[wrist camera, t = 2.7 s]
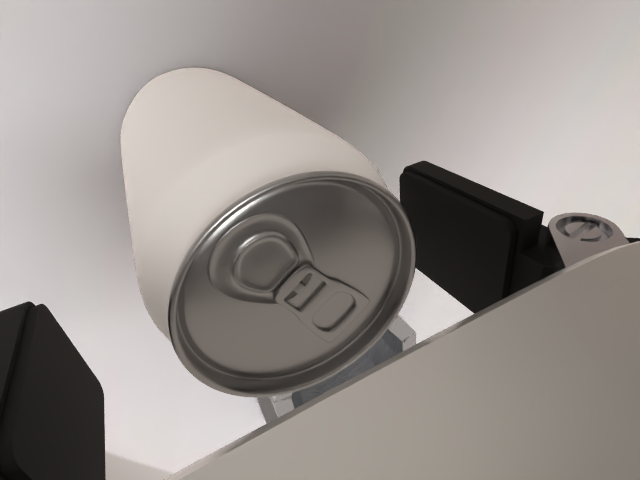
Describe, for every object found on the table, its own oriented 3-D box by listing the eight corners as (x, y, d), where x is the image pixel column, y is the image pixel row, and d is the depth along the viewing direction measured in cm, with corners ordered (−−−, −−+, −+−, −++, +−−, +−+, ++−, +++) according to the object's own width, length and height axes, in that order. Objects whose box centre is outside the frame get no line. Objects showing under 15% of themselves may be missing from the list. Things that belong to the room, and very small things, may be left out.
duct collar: (387, 243, 26) (426, 276, 23) (392, 354, 32) (423, 392, 29) (224, 309, 23) (243, 358, 19) (264, 418, 29) (284, 468, 26)
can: (189, 27, 15) (321, 63, 6) (295, 137, 19) (471, 259, 10) (83, 151, 16) (56, 361, 7) (208, 233, 20) (301, 435, 11)
